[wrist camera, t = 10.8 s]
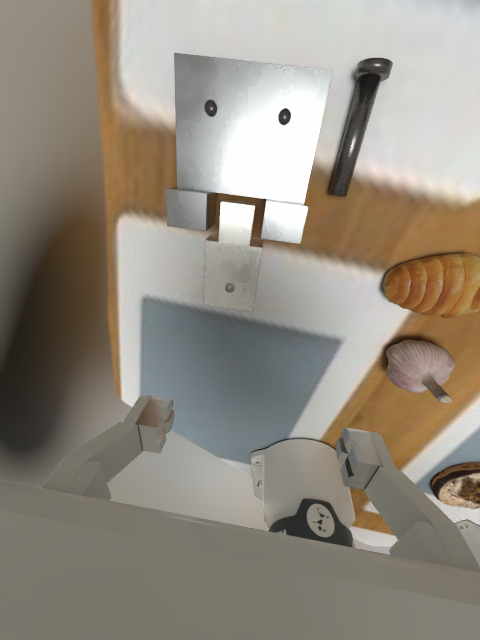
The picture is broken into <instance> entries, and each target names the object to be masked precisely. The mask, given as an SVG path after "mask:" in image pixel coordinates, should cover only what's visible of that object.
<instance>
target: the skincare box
mask: <svg viewBox="0 0 480 640" xmlns="http://www.w3.org/2000/svg"><path fill="white" fill-rule="evenodd" d="M455 525H456V526H457V527H458V528H459V530H460V532H461V533H462V535H463V537H464V539H465V541H466V543H467V544H468V546H469V548H470V550H471V552H472V554H473V555H474V557H475V559H476V561H477V563H478V565H479V567H480V526H478V525H476V524H474V523H472V522H470V521H468V520H466V521H461V522H458V523H455Z"/></svg>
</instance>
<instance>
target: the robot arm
mask: <svg viewBox="0 0 480 640" xmlns="http://www.w3.org/2000/svg"><path fill="white" fill-rule="evenodd" d="M172 407H173V400H170V399H165V398H159V397H154V396H148V395H143V394H142V395H141V396H140V397H139V398H138V400H137V401H136V403H135V405H134V406H133V408H132V409H131V411H130V412H129V414H128V415H127V417H126V418H125V420H124V422H119V423H117V424H116V425H114V426H113V427H111V428H110V429H108V430H106V431H105V432H103V433H102V434H100V435H98V436H96V437H95V438H93V439H92V440H90V441H88V442H87V443H85V444H83V445H82V446H81V447H79V448H77V449H75V450H74V451H72V452H71V453H69V454H67V455H66V456H65V457H64V459H63V460H62V461H61V462H60V464H59V465H58V466H57V468H56V469H55V470H54V471H53V473H52V474H51V475H50V476H49V478H48V479H47V480H46V482H45V483H44V484H43V485H42V487H41V488H40V487H36V486H30V485H25V484H20V483H15V482H10V481H5V480H0V640H480V567H479V565H478V563H477V561H476V559H475V557H474V555H473V554H472V552H471V550H470V548H469V546H468V544H467V543H466V541H465V539H464V537H463V535H462V533H461V532H460V530H459V528H458V527H457V526H456V525H455V524H454V523H453V522H452V521H451V520H450V519H449V518H448V517H447V516H446V515H445V514H444V513H443V512H442V511H441V510H440V509H439V508H438V507H437V506H436V505H435V504H434V503H433V502H432V501H431V500H430V499H429V498H428V497H427V496H426V495H425V494H424V493H423V492H422V491H421V490H420V489H419V488H418V487H417V486H416V485H415V484H414V483H413V482H412V481H411V480H410V479H409V478H408V477H407V476H406V475H405V474H404V473H403V472H402V471H401V470H398V469H396V467H395V465H394V463H393V460H392V458H391V456H390V454H389V451H388V449H387V447H386V445H385V442H384V440H383V438H382V436H381V435H380V433H375V432H369V431H364V430H357V429H351V428H344V429H343V431H342V436H343V437H341V438H339V439H338V442H337V446H336V451H335V450H334V449H333V448H332V447H330V446H328V445H326V444H324V443H321V442H318V441H314V440H307V439H292V440H286V441H282V442H279V443H276V444H274V445H272V446H270V447H269V448H267V449H264V450H259V451H255V452H252V453H251V465H252V474H253V483H254V492H255V496H256V497H258V498H260V499H262V507H263V508H264V520H265V522H266V524H267V526H268V528H269V531H264V530H259V529H253V528H248V527H243V526H238V525H233V524H227V523H222V522H217V521H212V520H207V519H202V518H196V517H191V516H185V515H181V514H176V513H171V512H165V511H160V510H155V509H149V508H144V507H139V506H134V505H129V504H124V503H118V502H113V501H110V499H111V495H110V491H109V488H108V485H107V483H108V482H109V481H110V480H111V479H112V478H113V477H115V476H116V475H117V474H118V473H119V472H120V471H121V470H122V469H124V468H125V467H126V466H127V465H128V464H129V463H130V462H131V461H133V460H134V459H135V458H136V457H137V456H138V455H139V454H141V453H142V451H148V452H155V453H161V451H162V448H163V446H164V444H165V441H166V434H167V433H168V432H170V430H171V427H172V424H173V420H174V411H173V410H172ZM349 487H351V488H356V489H361V490H364V492H365V494H366V495H367V496H368V498H369V499H370V501H371V502H372V504H373V505H374V506H375V508H376V509H377V511H378V512H379V513H380V515H381V516H382V518H383V519H384V520H385V522H386V523H387V525H388V526H389V527H390V529H391V530H392V532H393V533H394V534H395V536H396V537H397V539H398V541H397V542H396V543H395V544H394V545H393V546H392V547H391V549H390V550H389V552H390V555H388V554H383V553H377V552H372V551H366V550H362V549H356V547H355V544H354V542H353V538H352V534H351V531H350V530H349V528H350V527H351V526H352V524H353V522H354V521H355V513H354V508H353V503H352V498H351V493H350V488H349Z"/></svg>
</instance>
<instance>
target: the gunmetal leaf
mask: <svg viewBox="0 0 480 640" xmlns="http://www.w3.org/2000/svg"><path fill="white" fill-rule="evenodd" d="M174 62H175V106H176V150H177V188H166V203H167V225H168V226H170V227H178V228H185V229H193V230H201V231H207V230H208V229H209V228H210V227H211V226H213V225H214V224H215V214H216V195H217V193H224V194H232V195H239V196H247V197H255V198H263V199H266V204H265V211H264V218H263V225H262V233H261V239H269V240H277V241H284V242H292V243H299V244H300V241H301V237H302V233H303V228H304V224H305V219H306V215H307V211H308V206H307V205H305V204H304V200H305V195H306V191H307V186H308V182H309V177H310V172H311V168H312V163H313V159H314V154H315V150H316V145H317V140H318V136H319V131H320V127H321V122H322V118H323V113H324V108H325V104H326V99H327V95H328V90H329V86H330V81H331V76H332V72H333V70H325V69H316V68H307V67H298V66H289V65H280V64H271V63H262V62H252V61H243V60H234V59H225V58H216V57H207V56H198V55H189V54H180V53H174Z"/></svg>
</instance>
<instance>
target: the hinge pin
mask: <svg viewBox="0 0 480 640" xmlns="http://www.w3.org/2000/svg"><path fill="white" fill-rule="evenodd" d="M392 65H393V63H392V62H391V61H390V60H388V59H384V58H369V59H365V60H363V61H361V62H359V63H358V65H357V69H356V73H355V78H356V79H357V80H358V83H357V87H356V90H355V94H354V98H353V102H352V106H351V110H350V113H349V117H348V121H347V125H346V129H345V132H344V136H343V140H342V144H341V148H340V152H339V155H338V159H337V163H336V167H335V171H334V175H333V178H332V182H331V186H330V190H329V194H330V195H338V196H346V195H347V192H348V188H349V185H350V182H351V178H352V175H353V171H354V168H355V165H356V161H357V158H358V154H359V151H360V148H361V144H362V141H363V138H364V134H365V131H366V127H367V124H368V121H369V117H370V114H371V111H372V107H373V104H374V100H375V97H376V94H377V90H378V87H379V84H380V81H383V80H385V79H387V78H388V77H389V75H390V72H391V68H392Z"/></svg>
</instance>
